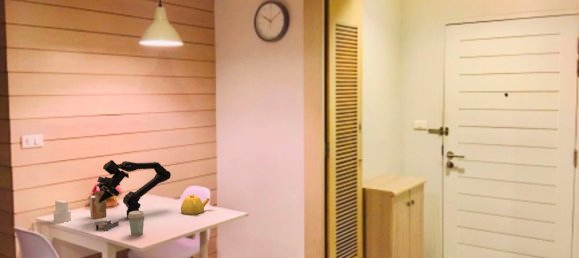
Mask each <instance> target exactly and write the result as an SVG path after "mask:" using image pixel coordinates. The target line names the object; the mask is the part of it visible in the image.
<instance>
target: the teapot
mask: <svg viewBox="0 0 579 258" xmlns="http://www.w3.org/2000/svg"><path fill="white" fill-rule="evenodd" d="M209 201H211V199H210V198H209V197H206V198H205V200H204V201H202V199H201V198H200V197H199V196H195V194H188V196H186V197H185V198H184V200H183V201H182V203H181V205H180V211H181V213H182V214H184V215H187V216H188V215H189V216H191V215H198V214H201V213H203V211H205V207H206V205H207V204H208V203H209Z"/></svg>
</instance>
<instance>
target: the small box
mask: <svg viewBox="0 0 579 258" xmlns="http://www.w3.org/2000/svg"><path fill="white" fill-rule="evenodd" d="M89 209H90V211H89V212H90V218H91V219H92V220H95V219H104V218H107V211H106V212H104V213H99V214H98V213H96V204H95V195H90V196H89Z"/></svg>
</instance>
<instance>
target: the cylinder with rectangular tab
mask: <svg viewBox="0 0 579 258" xmlns="http://www.w3.org/2000/svg"><path fill="white" fill-rule="evenodd" d="M54 207H55V210H54V211H53V223H54V222H56V223H55V224H65V223H64V222H67V223H70V222H72V215H71V214H72V211H71V209H69V202H68V201H67V200H63V199H56V200H54ZM69 221H70V222H69Z"/></svg>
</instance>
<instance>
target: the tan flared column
mask: <svg viewBox="0 0 579 258" xmlns="http://www.w3.org/2000/svg"><path fill="white" fill-rule="evenodd" d="M103 194H104V191H100V190H98V191H95V192H94V196H95V204H96V213H98V214H99V213H104V212H106V213H107V199H106V200H104V201H102V202H99V200H100V198H101V197H102V195H103Z"/></svg>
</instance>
